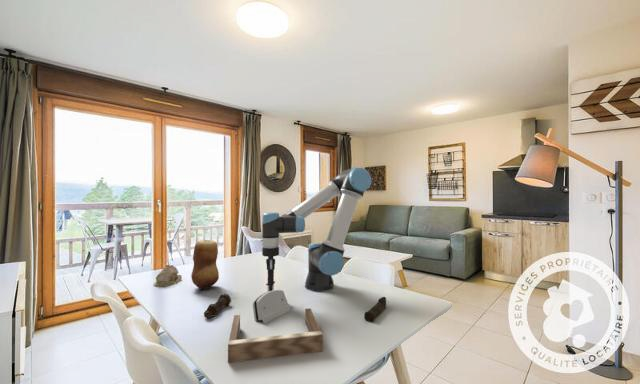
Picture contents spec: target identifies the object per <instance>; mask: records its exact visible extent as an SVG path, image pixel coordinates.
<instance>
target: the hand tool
mask: <svg viewBox="0 0 640 384" xmlns="http://www.w3.org/2000/svg"><path fill="white" fill-rule="evenodd" d="M386 307H387V297H385V296H382V297H380V298H378V299H377V303H375V304H374V306H372V307H371V308H369V310H368V311H365V312H364V316H363V317H364V320H365V321H366V322H369V323H373V322H374V321H375V319H376V317H378V315H380V313H381V312H382V311H385V310H386Z"/></svg>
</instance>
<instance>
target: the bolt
mask: <svg viewBox="0 0 640 384" xmlns="http://www.w3.org/2000/svg"><path fill="white" fill-rule="evenodd" d="M231 302H232V298H231V296H230V295H229V294H228V293H222V294H220V295H219V297H218V299H217V301H216V302H215V303H210V304H209V305H208V306H207V308H206V310H205V311H204V312H203V317H204V318H205V319H210V318H212V317H213V316H214V317H215V316H217V315H218V313H219V312H220V310H221V309H222V308H223V307H229V305H230V304H231Z"/></svg>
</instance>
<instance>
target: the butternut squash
mask: <svg viewBox="0 0 640 384" xmlns="http://www.w3.org/2000/svg"><path fill="white" fill-rule="evenodd" d="M218 255H219V247H218V242H217V241H216V240H211V239H200V240H198V241H197V242H196V243H195V245H194V249H193V255H192V260H193V267H192V271H191V274H190V275H191V276H190V277H191V282H192V284H194V285H195V287H197V288H198V289H199V290H201V291H203V290H206V289H209V288H211V287H213V286H214V285H215V284H216V283H217V282H218V281H219V279H220V277H219V276H220V275H219V273H220V272H219V269H218V266H217V260H218Z"/></svg>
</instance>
